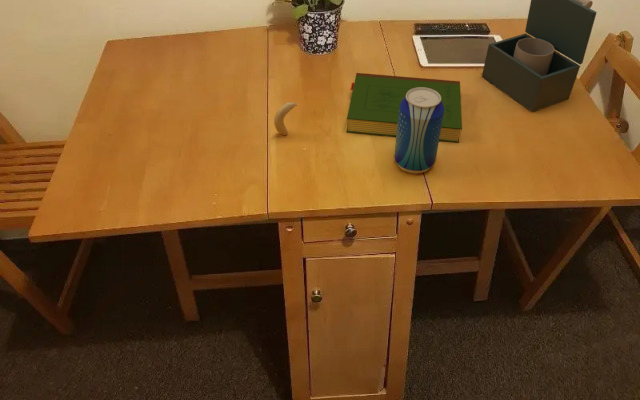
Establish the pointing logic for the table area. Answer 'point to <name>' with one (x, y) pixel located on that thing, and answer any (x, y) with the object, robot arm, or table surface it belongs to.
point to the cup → (534, 54)
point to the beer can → (418, 130)
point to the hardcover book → (398, 104)
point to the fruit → (280, 117)
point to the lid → (562, 25)
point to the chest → (528, 76)
